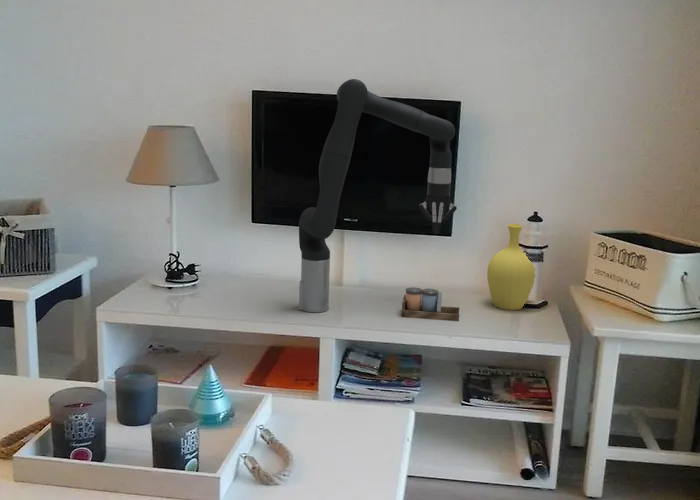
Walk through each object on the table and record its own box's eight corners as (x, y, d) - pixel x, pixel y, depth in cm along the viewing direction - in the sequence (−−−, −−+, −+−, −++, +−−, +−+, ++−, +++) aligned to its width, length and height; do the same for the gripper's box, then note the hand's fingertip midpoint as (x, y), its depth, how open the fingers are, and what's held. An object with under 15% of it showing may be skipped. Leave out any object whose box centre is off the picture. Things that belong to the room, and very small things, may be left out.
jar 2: (419, 316, 250) (420, 292, 248) (422, 311, 255) (423, 287, 253) (435, 318, 248) (436, 293, 247) (438, 313, 253) (439, 289, 251)
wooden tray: (401, 319, 249) (402, 301, 247) (403, 312, 257) (404, 294, 255) (458, 323, 246) (459, 305, 245) (458, 316, 254) (459, 298, 253)
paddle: (436, 317, 248) (437, 297, 247) (436, 312, 254) (438, 291, 252) (440, 317, 248) (441, 297, 246) (440, 312, 254) (441, 292, 252)
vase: (485, 310, 262) (491, 228, 256) (484, 297, 277) (489, 219, 271) (534, 313, 260) (542, 231, 254) (530, 300, 275) (537, 222, 269)
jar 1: (404, 315, 250) (405, 291, 248) (405, 310, 255) (406, 287, 253) (421, 316, 249) (421, 292, 247) (421, 311, 254) (422, 287, 252)
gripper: (459, 180, 259) (456, 232, 263) (419, 178, 261) (417, 229, 265) (459, 183, 252) (456, 236, 256) (418, 181, 254) (415, 234, 258)
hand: (436, 232), depth 260 cm, fingers closed
